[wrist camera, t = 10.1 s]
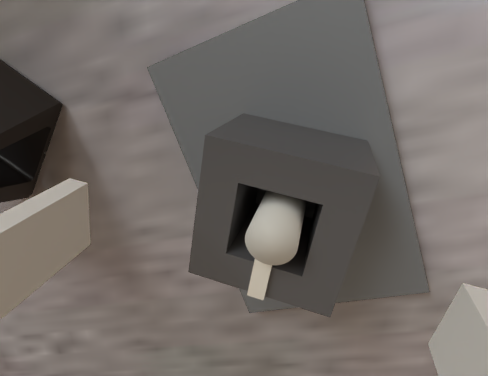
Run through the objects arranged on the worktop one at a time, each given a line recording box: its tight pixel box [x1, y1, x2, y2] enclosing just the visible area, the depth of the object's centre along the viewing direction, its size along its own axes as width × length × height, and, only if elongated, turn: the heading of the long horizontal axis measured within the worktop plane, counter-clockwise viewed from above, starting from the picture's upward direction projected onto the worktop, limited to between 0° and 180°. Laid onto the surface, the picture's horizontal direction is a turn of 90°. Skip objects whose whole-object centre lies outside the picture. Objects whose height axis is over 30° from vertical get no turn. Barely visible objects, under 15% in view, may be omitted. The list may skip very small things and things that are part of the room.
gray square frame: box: [189, 113, 380, 317], centre depth 17 cm, size 7×7×6 cm
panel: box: [147, 0, 429, 313], centre depth 17 cm, size 18×12×8 cm, turn 20°
